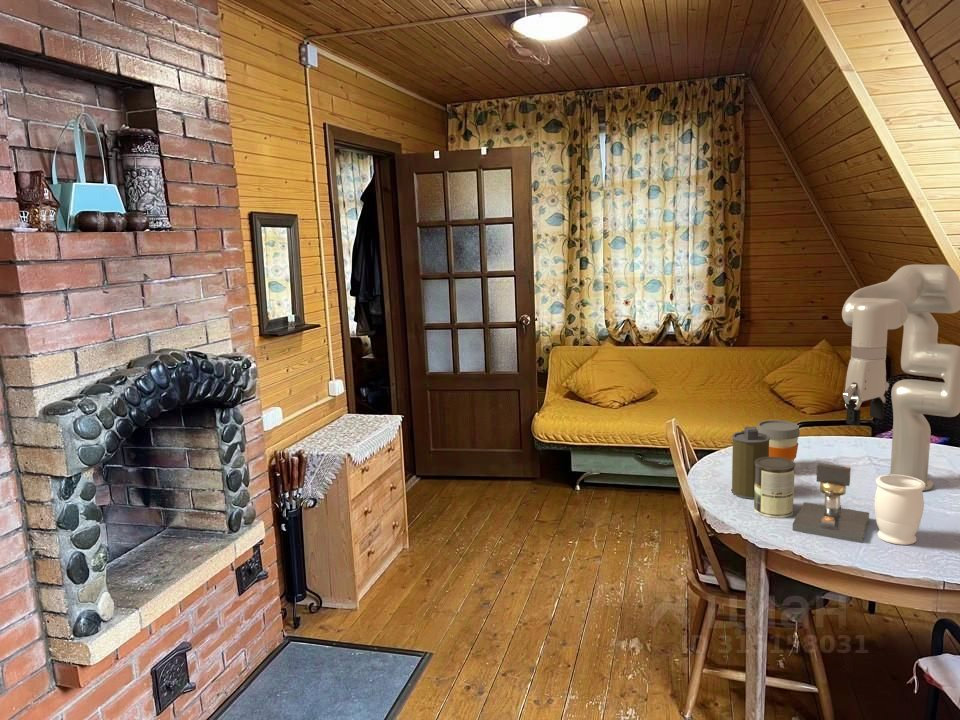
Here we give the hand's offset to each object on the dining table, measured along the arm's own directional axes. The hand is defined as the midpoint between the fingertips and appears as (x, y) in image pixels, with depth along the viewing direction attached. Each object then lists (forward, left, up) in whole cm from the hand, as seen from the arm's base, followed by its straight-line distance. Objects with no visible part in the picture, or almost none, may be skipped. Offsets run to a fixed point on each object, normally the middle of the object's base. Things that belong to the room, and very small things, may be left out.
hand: (864, 421), depth 178 cm
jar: (-1, +8, -30) cm, 31 cm away
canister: (-16, -31, -30) cm, 46 cm away
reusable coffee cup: (-39, -28, -30) cm, 56 cm away
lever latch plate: (-2, -7, -30) cm, 30 cm away
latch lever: (-2, -7, -20) cm, 21 cm away
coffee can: (-5, -22, -30) cm, 37 cm away
